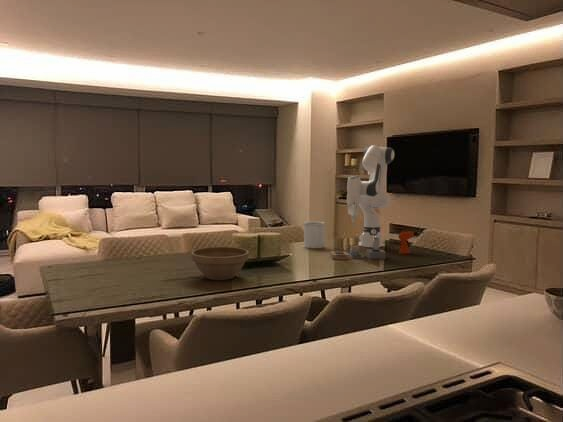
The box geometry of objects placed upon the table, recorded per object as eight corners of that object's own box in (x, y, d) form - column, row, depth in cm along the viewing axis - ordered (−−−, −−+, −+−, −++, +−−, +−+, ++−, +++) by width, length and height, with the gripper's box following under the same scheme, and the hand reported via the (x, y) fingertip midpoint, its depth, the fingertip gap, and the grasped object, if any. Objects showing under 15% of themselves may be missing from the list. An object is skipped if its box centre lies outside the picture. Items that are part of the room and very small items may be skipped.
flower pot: (254, 281, 221) (254, 254, 220) (194, 285, 213) (194, 257, 212) (242, 269, 248) (242, 245, 247) (189, 272, 240) (188, 247, 239)
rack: (330, 256, 289) (330, 251, 288) (346, 256, 289) (346, 251, 289) (332, 259, 279) (332, 254, 278) (349, 259, 279) (349, 254, 279)
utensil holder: (301, 245, 332) (302, 221, 330) (322, 245, 333) (322, 221, 332) (305, 248, 317) (305, 223, 316) (326, 248, 319) (326, 223, 317)
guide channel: (347, 254, 296) (347, 252, 296) (359, 254, 296) (359, 252, 296) (351, 258, 282) (351, 256, 281) (364, 258, 282) (364, 256, 282)
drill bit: (371, 256, 288) (372, 235, 287) (378, 256, 288) (378, 235, 287) (373, 257, 284) (373, 236, 283) (379, 257, 284) (380, 236, 283)
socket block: (366, 255, 291) (366, 249, 291) (381, 255, 291) (381, 249, 291) (369, 258, 281) (369, 252, 281) (385, 258, 281) (385, 252, 281)
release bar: (350, 254, 295) (350, 245, 294) (357, 254, 295) (358, 245, 295) (351, 255, 291) (351, 246, 290) (359, 255, 291) (359, 246, 291)
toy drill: (427, 250, 303) (425, 228, 301) (401, 255, 299) (399, 232, 297) (423, 249, 307) (421, 227, 306) (397, 254, 304) (395, 231, 302)
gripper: (361, 201, 287) (361, 223, 288) (355, 200, 307) (355, 220, 308) (351, 201, 287) (351, 223, 288) (346, 200, 307) (345, 220, 308)
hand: (353, 222), depth 298 cm, fingers closed
